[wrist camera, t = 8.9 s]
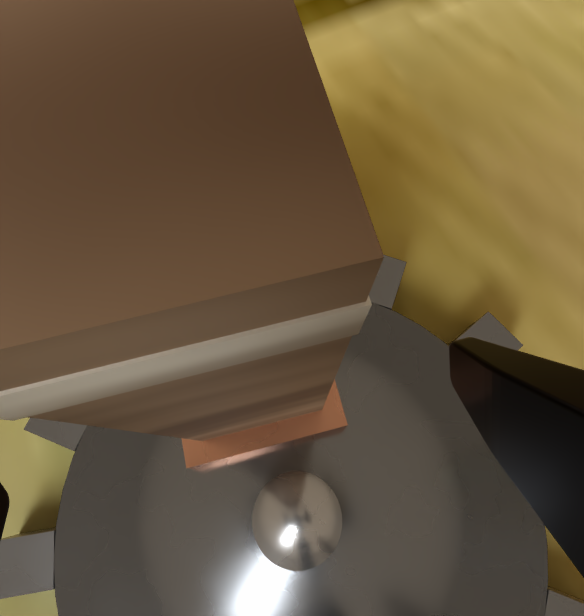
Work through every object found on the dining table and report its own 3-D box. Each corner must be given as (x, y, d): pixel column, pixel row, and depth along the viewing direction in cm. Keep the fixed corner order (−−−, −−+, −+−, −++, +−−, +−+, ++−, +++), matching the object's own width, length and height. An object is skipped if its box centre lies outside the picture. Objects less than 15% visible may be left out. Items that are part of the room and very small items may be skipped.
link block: (323, 411, 16) (391, 261, 4) (201, 442, 16) (-177, 398, 3) (293, 297, 17) (268, -85, 5) (181, 325, 17) (-133, -8, 5)
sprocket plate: (673, 444, 17) (728, 443, 15) (389, 1110, 12) (409, 1261, 9) (247, 183, 21) (241, 152, 19) (-98, 580, 16) (-161, 600, 14)
